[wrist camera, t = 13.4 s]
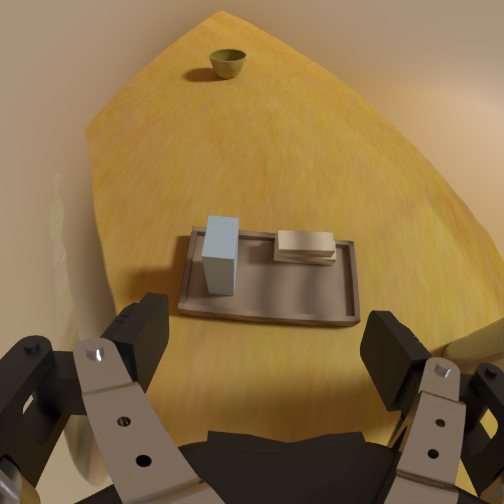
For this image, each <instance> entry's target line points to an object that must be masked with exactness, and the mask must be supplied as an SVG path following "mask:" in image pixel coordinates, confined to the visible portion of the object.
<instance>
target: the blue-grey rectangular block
mask: <svg viewBox="0 0 504 504" xmlns="http://www.w3.org/2000/svg"><path fill="white" fill-rule="evenodd" d="M238 229H239V218H231V217H220V216H209V218H208V223H207V229H206V234H205V240H204V245H203V251H202V261H203V266H204V271H205V276H206V281H207V286H208V291H209V294H216V295H226V296H234V288H235V279H236V269H237V255H238Z"/></svg>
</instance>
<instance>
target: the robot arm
mask: <svg viewBox="0 0 504 504" xmlns="http://www.w3.org/2000/svg"><path fill="white" fill-rule="evenodd" d="M168 339H169V311H168V297H167V295H166V294H158V293H150V292H148V293H147V294H146V295H145V296H144V298H143V299H142V300H141V301H140V303H132V304H131V305H129V306H127V307H125V308H124V309H123V310H122V311H121V312H120V314H119V316H117V317H116V318H115V319H114V322H112V323H111V324H110V326H109V327H108V328H107V329H106V331H105V332H104V333H103V334H102V335H101V337H100V338H90V339H86V340H83V341H81V342H79V343H78V344H77V345H76V346H75V347H74V350H73V352H69V351H53V349H52V346H51V343H50V341H49V340H48V339H47V338H46V337H43V336H37V335H35V336H28V337H25V338H23V339H21V340H20V341H18V342H17V343H16V344H15V345H14V346H13V347H12V348H11V349H10V350H9V351H8V352H7V353H6V354H5V355H4V356H3V357H2V358H1V360H0V504H41V503H40V498H39V495H38V493H37V491H36V489H35V488H36V485H37V483H38V481H39V479H40V476H41V474H42V472H43V470H44V468H45V466H46V463H47V461H48V459H49V457H50V455H51V453H52V451H53V449H54V447H55V445H56V443H57V441H58V439H59V437H60V435H61V433H62V431H63V429H64V427H65V425H66V423H67V421H68V419H69V417H70V416H71V414H72V415H88V418H89V421H90V424H91V427H92V430H93V433H94V436H95V439H96V442H97V445H98V447H99V450H100V453H101V455H102V458H103V460H104V463H105V465H106V468H107V470H108V472H109V475H110V477H111V479H112V481H113V484H112V485H110V486H108V487H106V488H105V489H103V490H101V491H99V492H97V493H95V494H93V495H91V496H89V497H87V498H85V499H83V500H81V501H79V502H77V503H75V504H504V318H502V319H500V320H498V321H496V322H494V323H492V324H490V325H488V326H486V327H484V328H482V329H480V330H478V331H475V332H473V333H471V334H469V335H467V336H464V337H462V338H460V339H458V340H455V341H453V342H451V343H450V344H449V345H448V346H447V347H446V349H445V350H444V352H443V355H442V358H441V357H432V355H431V354H430V353H429V352H428V351H427V349H426V348H425V347H424V346H423V345H422V343H421V342H419V340H418V339H417V337H415V335H414V334H413V333H412V332H411V330H410V329H409V328H407V327H406V326H404V325H403V324H401V323H400V322H399V321H398V320H397V319H396V318H395V316H394V315H393V314H392V313H391V312H390V311H374V310H373V311H371V313H370V314H369V317H368V321H367V324H366V328H365V331H364V334H363V338H362V341H361V345H360V356H361V359H362V361H363V362H364V364H365V366H366V368H367V370H368V372H369V374H370V376H371V378H372V380H373V382H374V384H375V386H376V388H377V390H378V392H379V394H380V396H381V398H382V401H383V403H384V405H385V407H386V409H387V411H388V412H390V411H397V410H401V414H400V416H399V418H398V420H397V422H396V425H395V427H394V430H393V432H392V434H391V437H390V439H389V441H388V444H387V446H384V445H380V444H377V443H371V442H365V439H364V436H363V434H362V432H352V433H340V434H327V435H323V436H319V437H315V438H311V439H307V440H303V441H298V442H294V443H285V442H280V441H275V440H271V439H266V438H262V437H257V436H253V435H249V434H237V433H225V432H215V431H208V438H207V441H204V442H196V443H190V444H186V445H182V446H180V447H177V446H176V445H175V443H174V442H173V440H172V439H171V437H170V436H169V434H168V432H167V431H166V429H165V428H164V426H163V424H162V423H161V421H160V419H159V418H158V416H157V414H156V413H155V411H154V409H153V408H152V406H151V404H150V402H149V401H148V399H147V397H146V395H145V394H146V391H147V389H148V387H149V385H150V382H151V380H152V378H153V375H154V373H155V371H156V369H157V366H158V364H159V362H160V360H161V357H162V355H163V353H164V351H165V348H166V346H167V344H168ZM31 395H32V397H33V400H32V402H31V403H30V405H29V406H28V408H27V409H26V411H25V412H24V414H23V407H24V405H25V403H26V401H27V400H28V399H29V397H30V396H31ZM488 408H489V410H490V411H491V413H492V414H493V415H494V417H495V418H496V420H497V422H498V429H497V432H496V434H495V435H494V436H493V438H492V439H490V437H489V435H488V434H487V432H486V431H485V429H484V427H483V426H482V424H481V423H480V420H481V419H482V417H483V416H484V414H485V413H486V411H487V410H488ZM460 458H461V461H462V463H463V465H464V467H465V469H466V471H467V473H468V475H469V478H470V480H471V482H472V484H473V486H474V489H475V491H476V493H477V496H478V497H476V496H474V495H472V494H470V493H468V492H466V491H465V490H463V489H461V488H459V487H457V486H455V481H456V476H457V471H458V466H459V461H460Z"/></svg>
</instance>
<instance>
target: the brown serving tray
mask: <svg viewBox="0 0 504 504" xmlns="http://www.w3.org/2000/svg"><path fill="white" fill-rule="evenodd" d="M206 229H207V227H195V226H193V227H192V232H191V237H190V242H189V247H188V252H187V258H186V263H185V268H184V274H183V279H182V285H181V291H180V297H179V303H178V310H179V312H180V314H185V315H194V316H203V317H212V318H222V319H232V320H244V321H256V322H269V323H285V324H303V325H325V326H355V325H356V324H358V323H359V322H360V305H359V291H358V280H357V269H356V259H355V250H354V242H353V241H345V240H336V239H334V241H335V246H336V258H337V260H336V261H335V263H334V264H333V266H329V265H317V264H305V263H293V262H282V261H274V241H275V237H276V235H277V234H275V233H265V232H254V231H242V230H238V255H237V269H236V279H235V288H234V296H226V295H216V294H209V291H208V286H207V281H206V276H205V271H204V266H203V261H202V251H203V245H204V240H205V234H206Z"/></svg>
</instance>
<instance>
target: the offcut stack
mask: <svg viewBox="0 0 504 504" xmlns="http://www.w3.org/2000/svg"><path fill="white" fill-rule="evenodd" d="M336 260H337V258H336V246H335V241H334V239H333V233H331V232H308V231H283V230H278V232H277V235H276V237H275V241H274V261H282V262H293V263H305V264H317V265H329V266H333V264H334V263H335V261H336Z"/></svg>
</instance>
